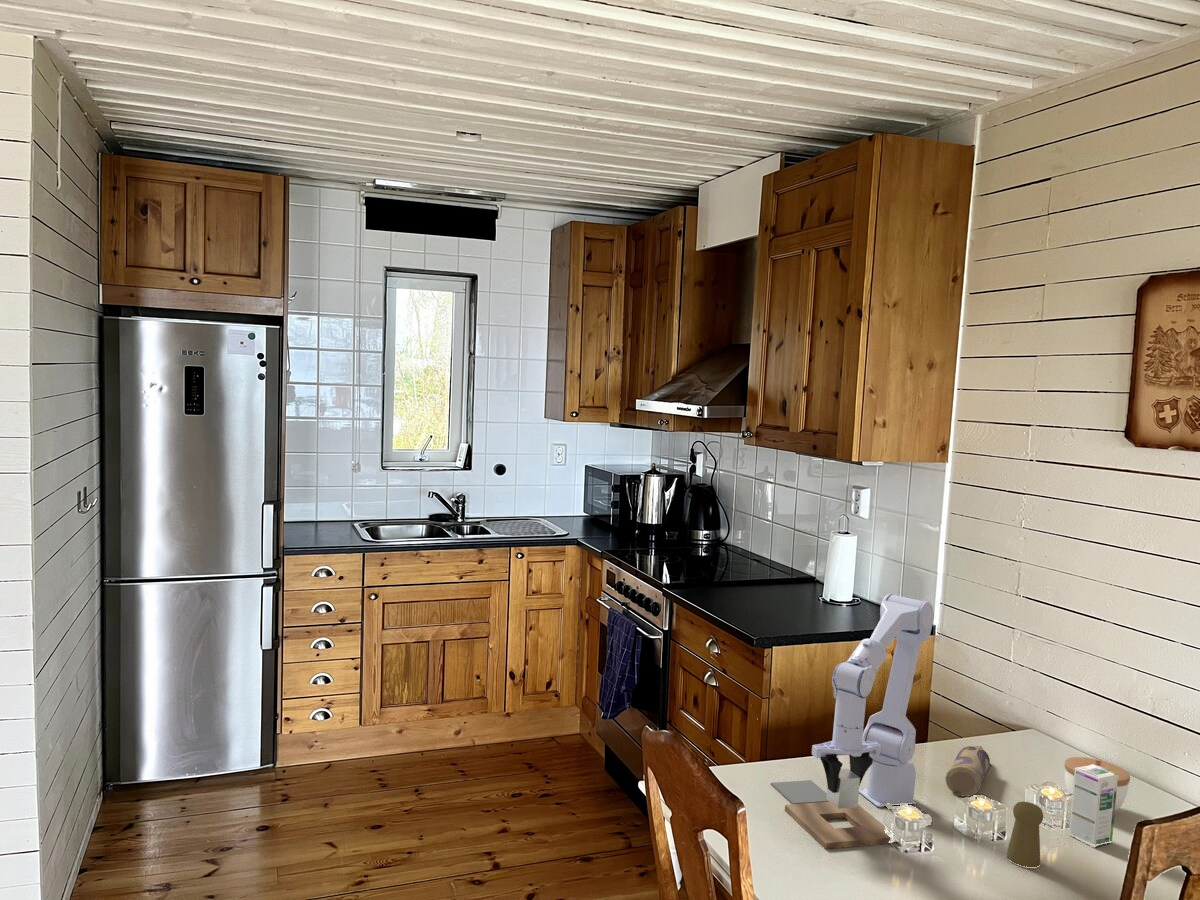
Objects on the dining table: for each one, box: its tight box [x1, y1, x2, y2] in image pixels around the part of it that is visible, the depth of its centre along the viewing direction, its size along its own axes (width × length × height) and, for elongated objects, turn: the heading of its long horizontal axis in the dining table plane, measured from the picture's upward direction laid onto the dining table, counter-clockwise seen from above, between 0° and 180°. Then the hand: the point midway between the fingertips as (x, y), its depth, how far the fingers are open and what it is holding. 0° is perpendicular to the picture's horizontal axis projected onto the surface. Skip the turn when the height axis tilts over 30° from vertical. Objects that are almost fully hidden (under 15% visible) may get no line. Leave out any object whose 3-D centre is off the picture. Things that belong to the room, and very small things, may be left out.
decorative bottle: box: [945, 745, 992, 796], centre depth 211 cm, size 26×8×7 cm, turn 149°
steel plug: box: [826, 768, 861, 809], centre depth 181 cm, size 4×4×6 cm
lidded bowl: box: [1063, 756, 1131, 811], centre depth 198 cm, size 13×13×11 cm
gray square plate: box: [770, 779, 830, 804], centre depth 196 cm, size 10×10×1 cm
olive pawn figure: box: [1005, 801, 1044, 867], centre depth 172 cm, size 6×6×11 cm
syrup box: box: [1068, 764, 1118, 845], centre depth 183 cm, size 6×6×14 cm
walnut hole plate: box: [784, 802, 890, 850], centre depth 181 cm, size 16×16×1 cm
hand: (842, 789), depth 181 cm, fingers closed on steel plug, 4 cm apart
